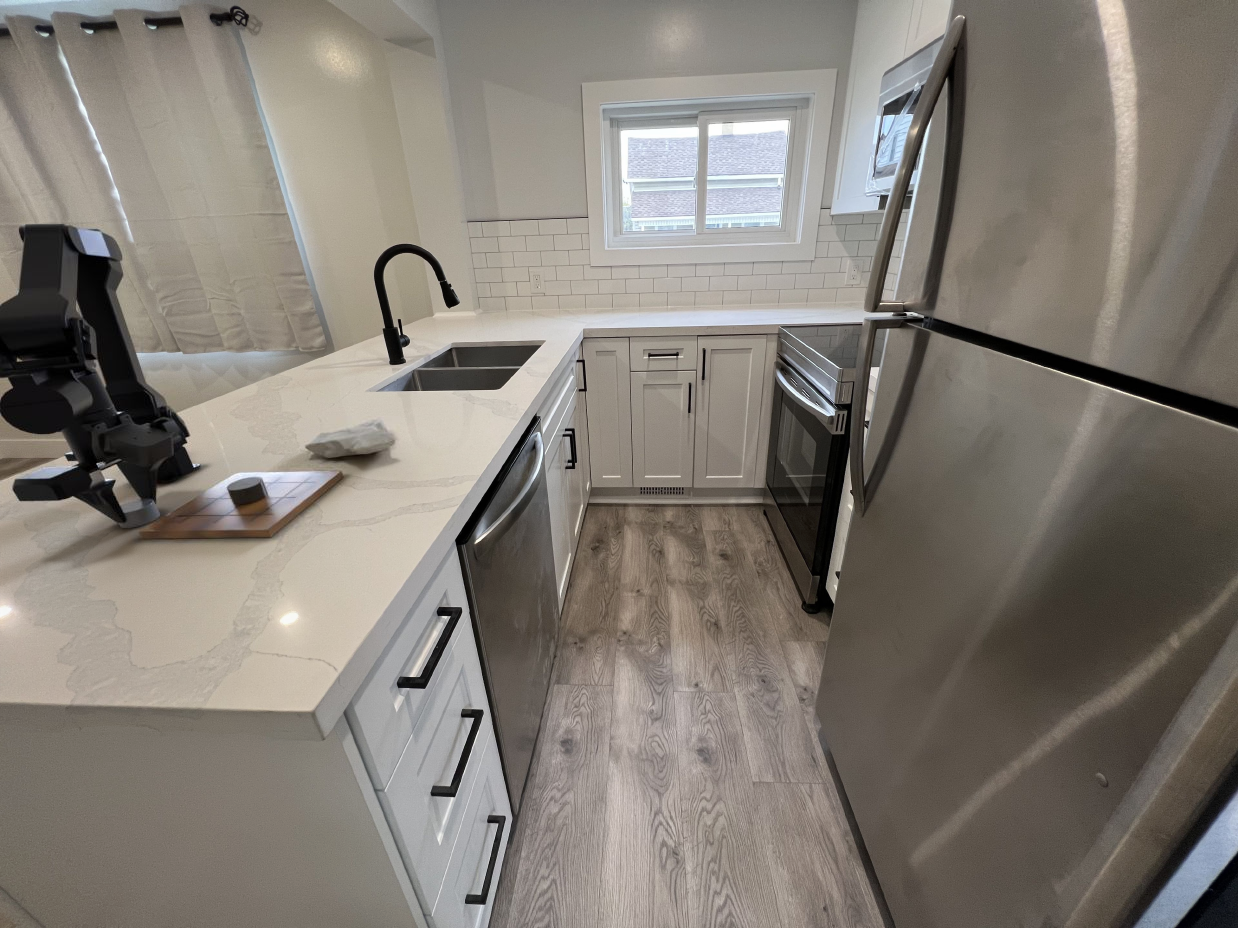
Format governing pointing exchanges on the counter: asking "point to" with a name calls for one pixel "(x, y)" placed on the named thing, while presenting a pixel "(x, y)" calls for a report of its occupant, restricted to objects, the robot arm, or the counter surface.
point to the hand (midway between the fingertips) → (137, 514)
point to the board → (244, 507)
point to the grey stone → (139, 512)
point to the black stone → (247, 490)
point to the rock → (353, 440)
